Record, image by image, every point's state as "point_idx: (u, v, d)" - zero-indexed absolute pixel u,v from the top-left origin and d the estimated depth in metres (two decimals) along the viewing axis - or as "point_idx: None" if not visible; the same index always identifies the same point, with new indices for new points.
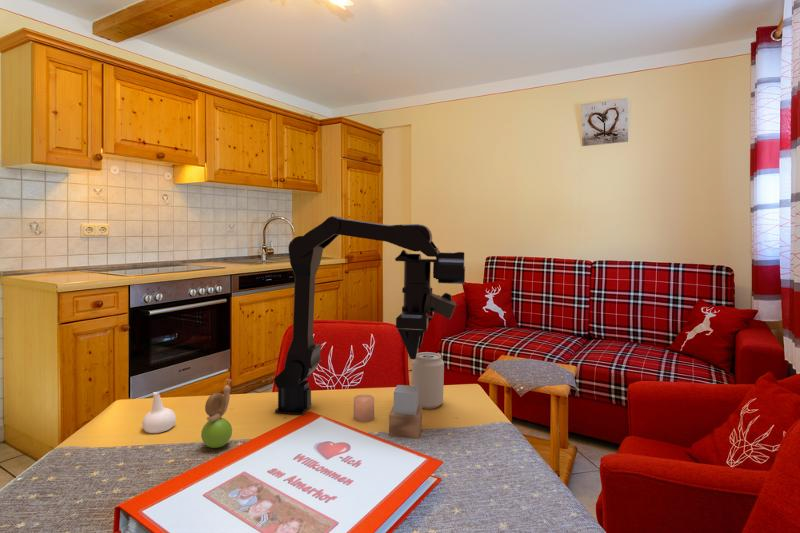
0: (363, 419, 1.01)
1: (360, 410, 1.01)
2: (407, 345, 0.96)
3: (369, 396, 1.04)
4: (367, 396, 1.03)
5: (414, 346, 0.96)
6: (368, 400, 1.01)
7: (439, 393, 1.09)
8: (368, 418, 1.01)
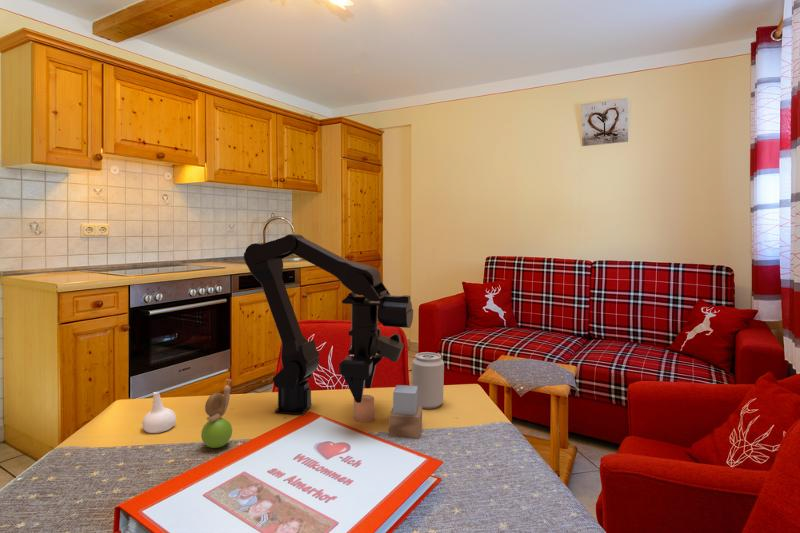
0: (363, 419, 1.01)
1: (360, 410, 1.01)
2: (352, 389, 0.97)
3: (369, 396, 1.04)
4: (367, 396, 1.03)
5: (359, 390, 0.97)
6: (368, 400, 1.01)
7: (439, 393, 1.09)
8: (368, 418, 1.01)
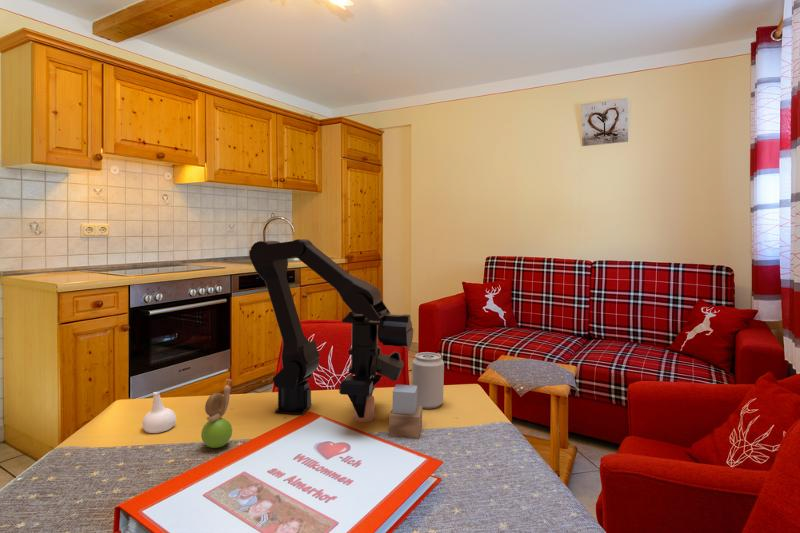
0: (363, 419, 1.01)
1: None
2: (355, 405, 0.99)
3: (369, 396, 1.04)
4: None
5: (362, 406, 0.99)
6: (368, 399, 1.01)
7: (439, 393, 1.09)
8: (368, 418, 1.01)
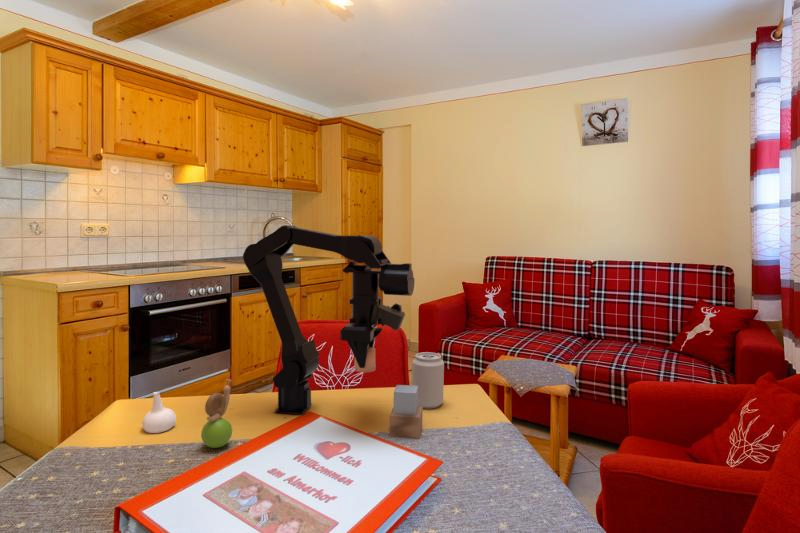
0: (364, 369, 1.00)
1: None
2: (356, 354, 0.98)
3: (370, 347, 1.03)
4: (368, 348, 1.02)
5: (362, 355, 0.98)
6: (369, 350, 1.01)
7: (439, 393, 1.09)
8: (369, 368, 1.00)
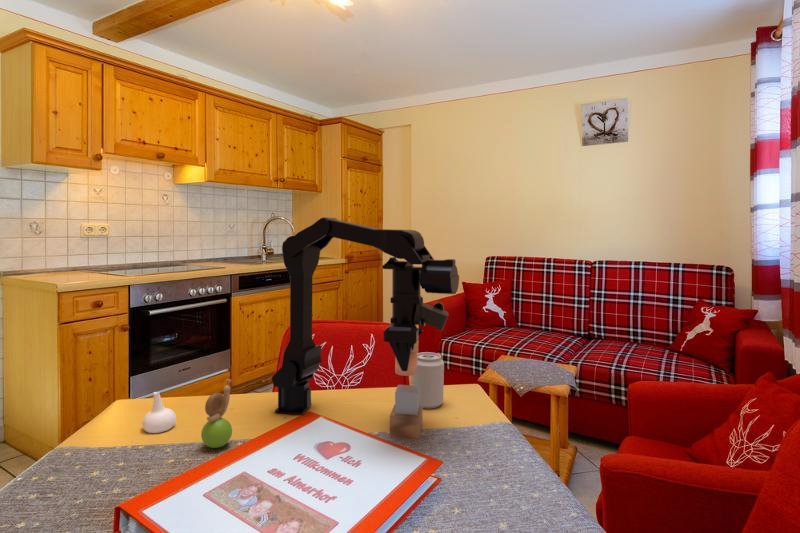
0: (406, 372, 0.93)
1: None
2: (398, 356, 0.92)
3: (411, 349, 0.97)
4: None
5: (405, 357, 0.92)
6: (411, 352, 0.94)
7: (439, 393, 1.09)
8: (412, 371, 0.94)
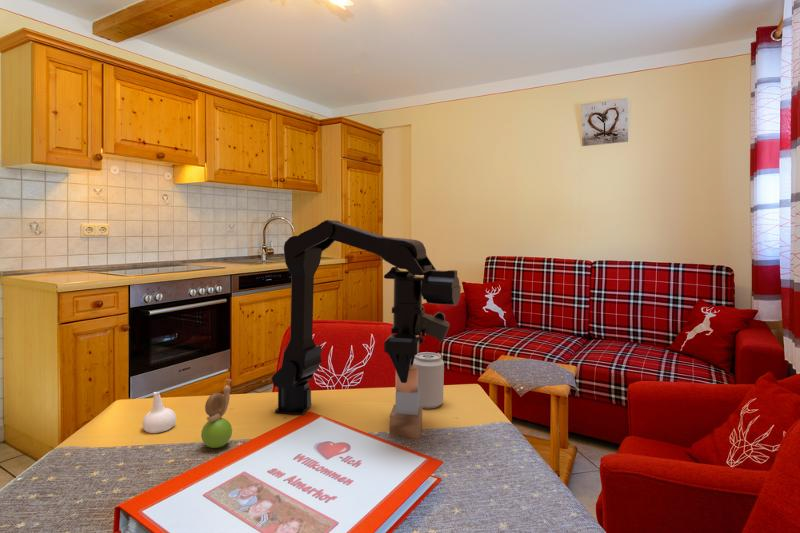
0: (407, 389, 0.94)
1: None
2: (398, 368, 0.91)
3: (411, 366, 0.97)
4: (410, 366, 0.96)
5: (405, 369, 0.91)
6: (412, 369, 0.94)
7: (439, 393, 1.09)
8: (412, 388, 0.94)
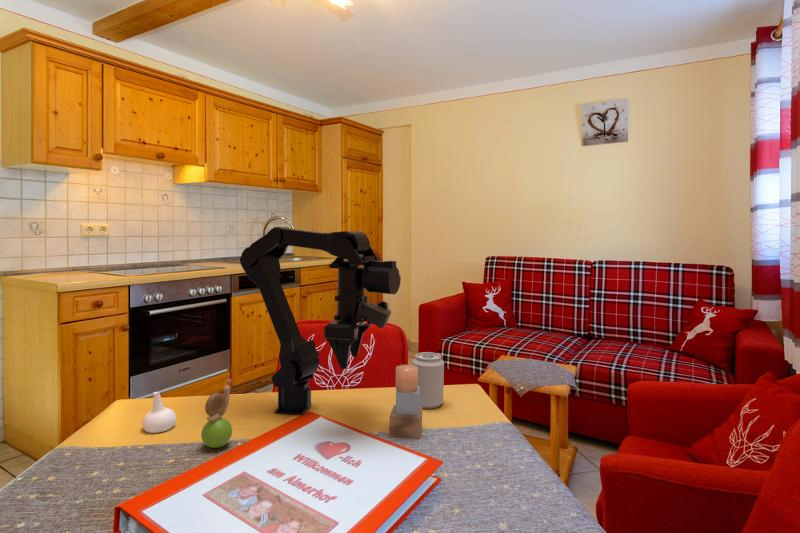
0: (408, 389, 0.94)
1: (404, 380, 0.93)
2: (337, 354, 0.95)
3: (411, 366, 0.97)
4: (410, 366, 0.96)
5: (344, 356, 0.94)
6: (412, 369, 0.94)
7: (439, 393, 1.09)
8: (413, 388, 0.94)
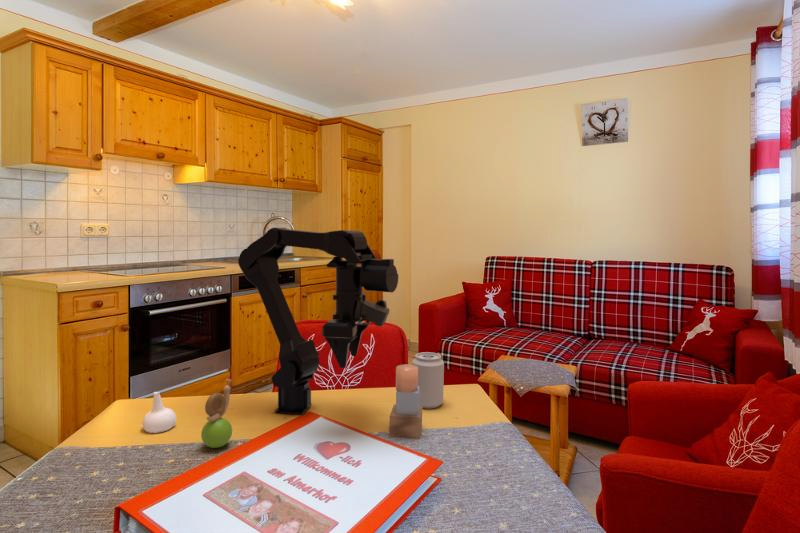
0: (408, 389, 0.94)
1: (405, 380, 0.93)
2: (336, 353, 0.95)
3: (411, 365, 0.97)
4: (410, 366, 0.96)
5: (343, 354, 0.95)
6: (412, 369, 0.94)
7: (439, 393, 1.09)
8: (413, 388, 0.94)
